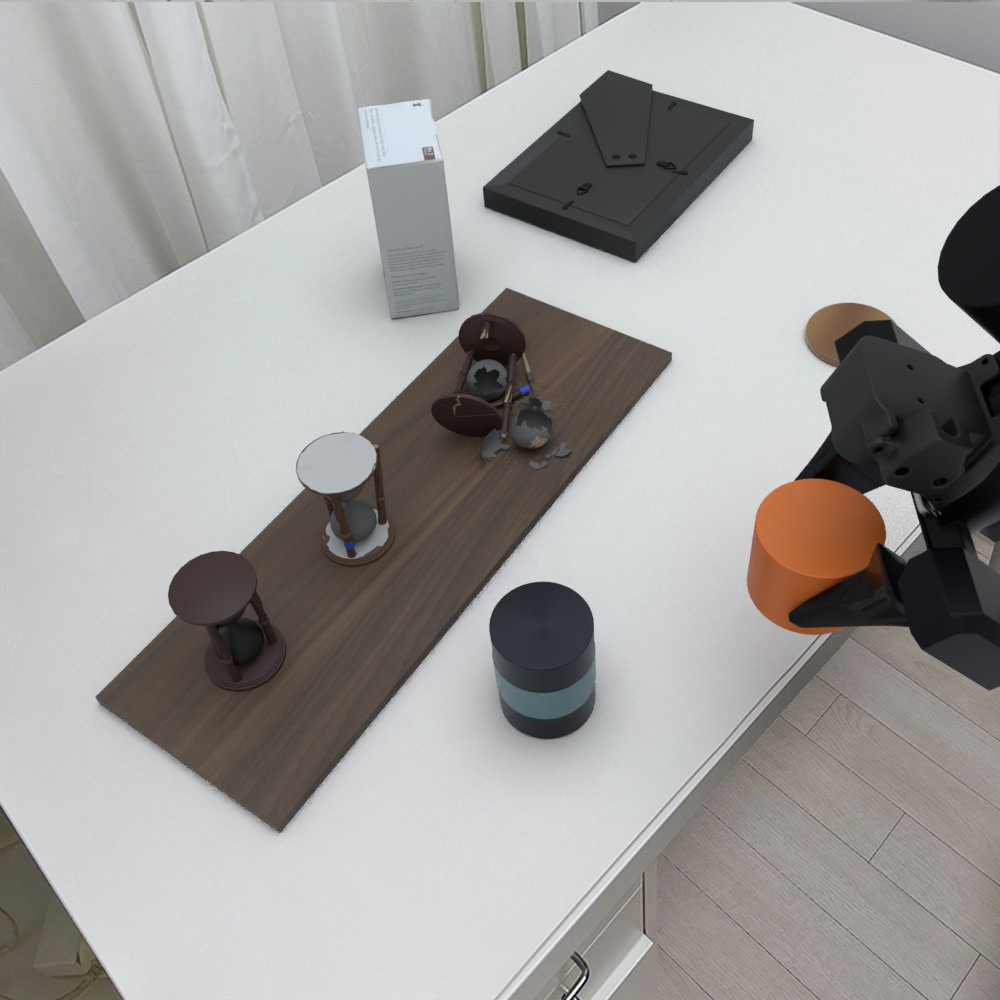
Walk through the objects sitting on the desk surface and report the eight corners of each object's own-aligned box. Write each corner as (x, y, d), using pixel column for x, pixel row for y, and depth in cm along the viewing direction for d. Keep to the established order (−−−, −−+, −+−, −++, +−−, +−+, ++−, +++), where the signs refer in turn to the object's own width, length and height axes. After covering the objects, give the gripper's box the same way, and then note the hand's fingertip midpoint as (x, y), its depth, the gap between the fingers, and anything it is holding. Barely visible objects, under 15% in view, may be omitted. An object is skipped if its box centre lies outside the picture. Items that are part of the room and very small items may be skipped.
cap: (857, 536, 59) (874, 476, 56) (878, 634, 55) (897, 576, 52) (741, 539, 60) (749, 479, 56) (752, 636, 56) (762, 579, 52)
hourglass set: (671, 360, 85) (676, 272, 78) (280, 832, 63) (241, 765, 56) (507, 295, 91) (499, 208, 85) (99, 703, 69) (46, 629, 63)
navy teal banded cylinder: (595, 654, 69) (594, 579, 63) (597, 740, 65) (595, 670, 59) (501, 654, 69) (490, 580, 63) (497, 740, 65) (485, 670, 59)
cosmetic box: (382, 261, 95) (351, 104, 84) (451, 250, 96) (430, 92, 84) (392, 324, 90) (360, 166, 78) (465, 312, 90) (444, 153, 79)
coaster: (890, 306, 87) (891, 300, 86) (907, 368, 82) (909, 362, 82) (799, 309, 87) (800, 303, 87) (811, 371, 83) (812, 365, 82)
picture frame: (608, 96, 109) (484, 207, 99) (607, 69, 107) (481, 179, 97) (752, 139, 102) (635, 262, 92) (755, 112, 100) (635, 235, 90)
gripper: (915, 174, 49) (660, 366, 59) (1039, 495, 37) (694, 673, 47) (1045, 300, 55) (793, 458, 64) (1190, 616, 43) (854, 753, 52)
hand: (783, 568), depth 57 cm, fingers closed on cap, 6 cm apart
